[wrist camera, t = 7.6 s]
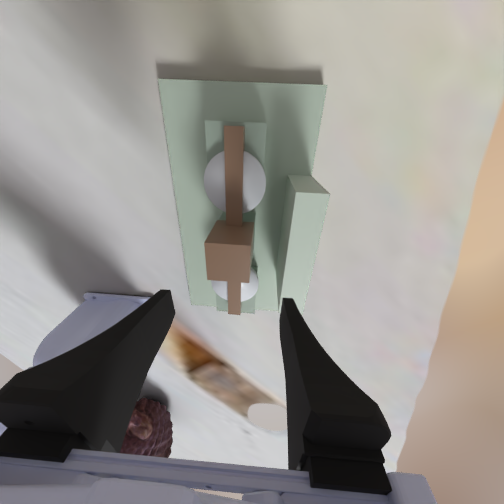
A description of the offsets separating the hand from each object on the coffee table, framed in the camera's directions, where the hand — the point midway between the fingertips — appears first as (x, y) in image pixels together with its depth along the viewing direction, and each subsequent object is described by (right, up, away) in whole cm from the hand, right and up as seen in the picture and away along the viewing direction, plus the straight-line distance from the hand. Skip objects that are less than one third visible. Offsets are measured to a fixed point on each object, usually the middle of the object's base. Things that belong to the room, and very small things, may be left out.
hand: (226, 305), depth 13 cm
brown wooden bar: (0, +5, +4) cm, 6 cm away
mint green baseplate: (+1, +6, +8) cm, 10 cm away
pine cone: (-18, -28, +29) cm, 44 cm away
